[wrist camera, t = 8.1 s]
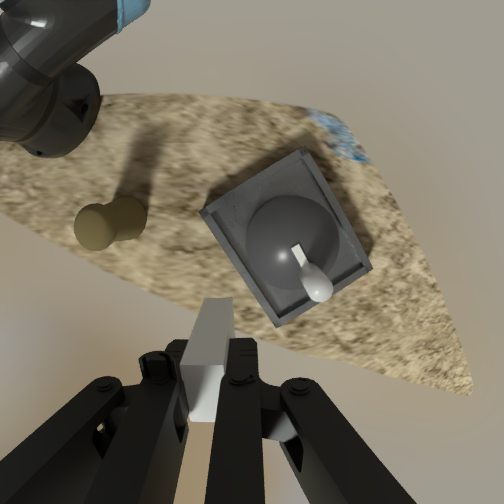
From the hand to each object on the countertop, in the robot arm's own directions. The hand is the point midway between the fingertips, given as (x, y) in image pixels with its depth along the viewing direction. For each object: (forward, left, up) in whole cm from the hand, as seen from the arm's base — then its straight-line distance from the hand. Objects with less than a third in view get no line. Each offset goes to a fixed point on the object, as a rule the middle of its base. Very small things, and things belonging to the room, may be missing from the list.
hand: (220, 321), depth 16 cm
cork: (-11, -11, -25) cm, 29 cm away
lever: (+3, +6, -22) cm, 23 cm away
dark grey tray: (+3, +6, -24) cm, 25 cm away
